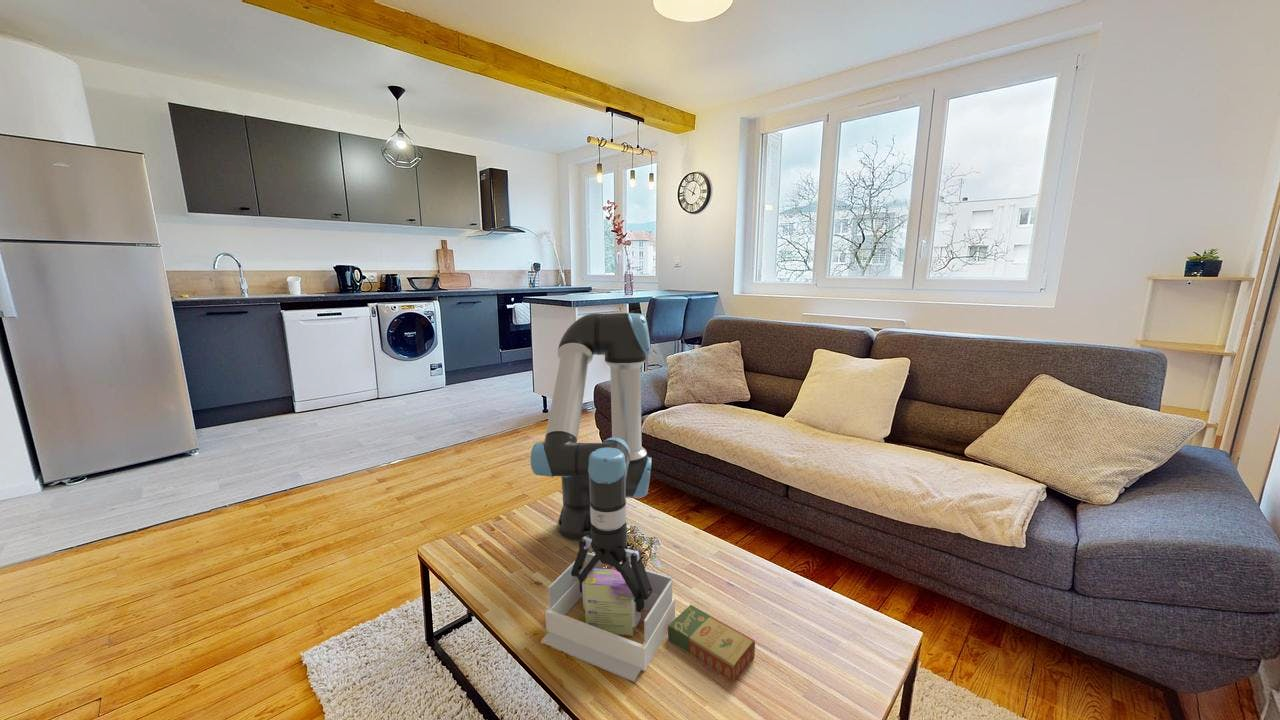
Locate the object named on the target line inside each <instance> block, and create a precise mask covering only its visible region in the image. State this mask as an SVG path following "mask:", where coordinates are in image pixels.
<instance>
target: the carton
mask: <svg viewBox="0 0 1280 720" xmlns="http://www.w3.org/2000/svg"><path fill="white" fill-rule="evenodd" d="M667 639H668V641H669V642H670V643H671V644H673V645H675V646H677V647H678V648H680V649H681V650H683V651H684V652H686V653H688V655H691V656H692V657H694V658H695V659H697V660H698V661H700V662H701V663H702V664H705V665H706V666H707V667H708V668H710V669H711V670H713V671H715V672H716V673H718V674H719V675H721V677H724V678H725V679H727V680H729V681H730V682H731V683H732V684H734V683H735V682H736V681H737V679H738V678H739V676H741V674H742V673H743V672H744V671H745V669H746V668H747V667H748V666H749V664H750V663H751V662H752V661H753V660H754V658H755V653H756V642H755V641H756V640H755V639H753V638H751V637H749V636H747V635H745V634H744V633H742V632H740V631H739V630H737V629H736V628H734V627H732V626H730V625H728V624H727V623H724V622H722V621H720V620H719V619H717V618H715V617H714V616H712V615H710V614H708V613H706V612H705V611H703V610H701V609H700V608H698V607H696V606H694V605H692V604H689V606H688V607H686V608H685V609H684V610H683V611H682V612H681V613H680V614H679V615H677V617H675V619H674V620H673V621H672V622H671V623H670V624H669V625H668V631H667Z"/></svg>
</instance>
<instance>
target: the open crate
mask: <svg viewBox="0 0 1280 720" xmlns="http://www.w3.org/2000/svg"><path fill="white" fill-rule="evenodd" d="M594 556H595V553H591V552H589V551H588V552H587V555H586V558H585V563H584V564H583V566H582V570H584V569H585V567H586V566H587V565H588V564H589V562H590V561H591V559H592V558H593V557H594ZM574 563H575V560H574V561H573V562H572V563H571V564H570V565H569V566H568V567H567V568H566V569H565V570H564V571H563V572H562V573H561V574H560V575H559V576H558V577H557V578H556V579H555V580H553V582H552V583H550V585H549V586H548V587H547V590H548V592H547V593H548V606H549V607H548V608H546V610H545V611H544V613H545V614H544V616H545V632H546V631H548V632H546V634H545V636H544V637H542V639H541V640H542V642H543V643H545V644H547V645H549V646H552V647H554V648H556V649H558V650H557V651H559V650H561V651H563V652H564V653H563V652H562V653H563V654H566V653H567V654H566V655H568V654H569V655H568V656H571V657H573V656H574V657H573V658H575V657H576V658H575V659H578V660H580V661H582V662H585V663H588V664H590V665H593V666H595V667H596V668H597V667H598V669H599V668H600V669H602V670H605V671H606V672H609V673H612V674H614V675H616V676H619V677H622V678H623V679H626V680H629V681H631V682H633V683H635V682H636V679H637V678H638V677H639V674H640V672H641V671H643V672H646V670H647V668H648V667H649V665H650V664H651V661H652V660H653V658H654V656H655V654H656V652H657V651H658V650H659V647H660V646H661V645H662V644H661V643H662V642H663V640H664V638H665V636H666V634H668V625H669V624H670V623H671V622H672V621H673V620H674V619H675V618H676V598H675V597H673V581H672V576H669V575H665V574H662V573H658V572H655V571H652V570H648V569H645V571H646V574H647V576H648V579H649V582H650V585H651V587H652V593H651V595H650V596H649V597H648V599H647V600H645V599H644V608H643V609H642V611H646V612H648V614H647V616H646V617H645V618H644V620H643V626H644V627H643V629H644V630H643V631H644V633H643V635H644V642H643V644H642V643H639V642H636V641H634V640H632V639H628V638H625V637H623V636H620V635H619V634H613V633H610V632H608V631H605V630H602V629H600V628H597V627H594V626H592V625H589V624H586V622H583V621H580V620H579V619H575V618H572V617H571V616H568V615H567V614H568V613H569V612H570V610H571V609H572V608H573V607H574V606H575V605H576V603H577V602H578V601H579V600H580V599H581V598H583V594H582V593H581V592H580V586H579V580H578V577H576V576H574V577H573V576H572V575H571V571H572V568H573V566H574ZM621 564H622V561H621V562H620V565H621ZM604 565H605V564H604ZM606 565H607V566H609V567H611V566H610V565H608V564H606ZM629 565H630V566H631V564H629ZM612 567H613V566H612ZM594 568H597V569H606V567H605V568H603V566H602V567H601V562H600V560H599V561H598V563H597V564H596V565H595V566H594ZM631 568H632V567H631ZM544 640H545V641H544ZM547 645H546V646H547ZM549 646H548V647H549ZM552 647H551V648H552ZM554 648H553V649H554ZM556 649H555V650H556ZM561 651H560V652H561Z"/></svg>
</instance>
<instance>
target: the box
mask: <svg viewBox="0 0 1280 720" xmlns="http://www.w3.org/2000/svg"><path fill="white" fill-rule="evenodd" d="M632 597H633V594H632V592H631V590H630V589H629V587H628V585H627V584H626V582H625V580H624V579H623V577H622V575H621V573H620V572H618V571H617V570H614V569H597V568H593V569H592V570H591V571H590V572H589V573H588V575H587V578H586V581H585V609H584V610H585V611H584V612H585V613H584V616H585V617H584V618H585V619H584V620H585V623H586V624H589V625H592V626H594V627H597V628H600V629H602V630H605V631H608V632H610V633H613V634H616V635H622V636H634V633H635V627H632V608H631V599H632Z"/></svg>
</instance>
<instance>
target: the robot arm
mask: <svg viewBox="0 0 1280 720" xmlns="http://www.w3.org/2000/svg"><path fill="white" fill-rule="evenodd" d="M650 340H651V339H650V332H649V326H648V322H647V317H646V316H645V315H644V314H642V313H637V312H636V313H634V312H622V313H621V312H617V313H611V312H610V313H597V312H596V313H594V312H593V313H589V314H585V315H584V316H581V317H579V318H578V319H576V320H575V321H574V322H573V323H572V324H571V325H570V326H569V327H568V328H567V329H566V331H565V332H564V333H563V335H562V337H561V338H560V341H559V344H558V348H557V349H558V350H557V358H558V359H559V363H558V368H557V369H558V370H557V375H556V379H555V385H554V390H553V395H552V398H551V399H552V400H551V404H550V411H549V415H548V422H547V426H546V429H545V430H546V431H545V437H544V441H541V442H536V443H534V444H533V446H532V447H531V451H530V460H529V461H530V468H531V471H532V473H533V474H534V475H536V476H542V477H549V478H550V477H551V478H553V477H561V488H562V489H561V492H562V507H561V511H560V514H559V517H558V520H557V525H558V527H557V528H558V532H559V534H560V535H561V537H563V538H565V539H567V538H568V540H572V541H579V542H578V547H579V548H578V552H577V554H576V557H575V560H574V561H575V563H574V566H573V568H572V571H571V575H572V576H573V577H574V576H576V577H578V580H579V586H580V592H581V593H582V594H583V596H582V609H583V610H585V581H586V578H587V575H588V573H589V572H590V571H591V570H592V569H593V568H594V566H595V565H596V564H597V563H598V561H599V560H600V561H601V563H603V564H608V565H610V566H613V567H615V568H616V570H617V571H618V572H620V573H621V575H622V577H623V579H624V580H625V582H626V584H627V585H628V587H629V589H630V590H631V592H632V594H633V597H632V599H631V608H632V627H634V628H636V627H637V625H638V624H639V622H640V620H642V613H641V612H642V611H643V610H642V609H643V608H644V599H645V600H647V599H648V597H649V596H650V595H651V593H652V587H651V585H650V582H649V579H648V576H647V574H646V571H645V570H646V569H645V566H644V562H643V561H642V551H641V549H639V548H636V549H635V550H633V549H629V547H628V545H627V539H628V529H627V528H628V525H627V498H629V499H634V498H644V497H646V496H647V495H648V492H649V486H650V479H651V470H652V460H653V459H652V457H649V456H648V452H647V450H646V449H645V448H644V447H643V446H642V440H643V439H642V390H641V389H642V388H641V387H642V386H641V385H642V383H641V382H642V380H641V374H642V372H641V366H643V365H644V363H646V360H647V358H646V357H647V356H649V355H651V350H652V349H651V341H650ZM595 355H597V356H602V355H603V356H604V362H605V364H607V365H608V366H609V368H610V369H609V370H610V401H611V404H610V407H611V408H610V409H611V437H609V438H606V439H605V440H603V441H602V442H578V436H579V431H580V430H579V429H580V423H581V415H582V410H583V409H582V408H583V402H584V395H585V388H586V380H587V374H588V369H589V368H588V367H589V364H590V363H591V362H593V358H594V356H595ZM590 548H591V549H592V551H593V552H594V554H595V556H594V557H593V558H592V559H591V561H590V562H589V564H588V565H587V566H586V565H585V563H584V562H586V555H587V552H588V553H589V549H590ZM620 562H622V564H621V565H620ZM583 564H584V565H585V567H584V570H582V566H583ZM630 565H631V566H630ZM631 567H632V568H631Z"/></svg>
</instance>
